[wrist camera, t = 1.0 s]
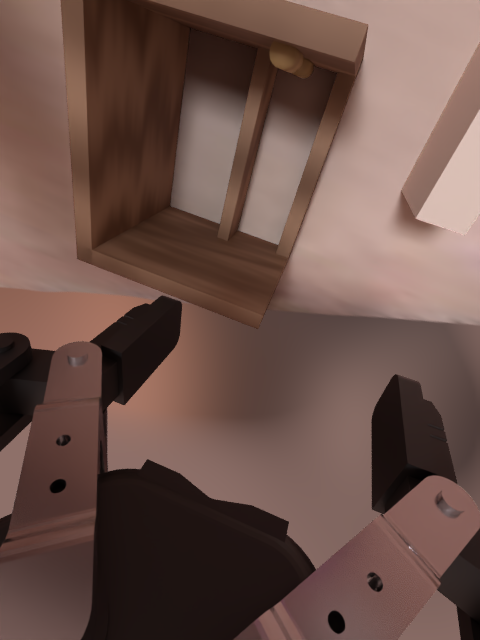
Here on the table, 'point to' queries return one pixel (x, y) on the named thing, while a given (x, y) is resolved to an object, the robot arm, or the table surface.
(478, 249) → the table surface
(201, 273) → the cabinet
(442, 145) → the door
